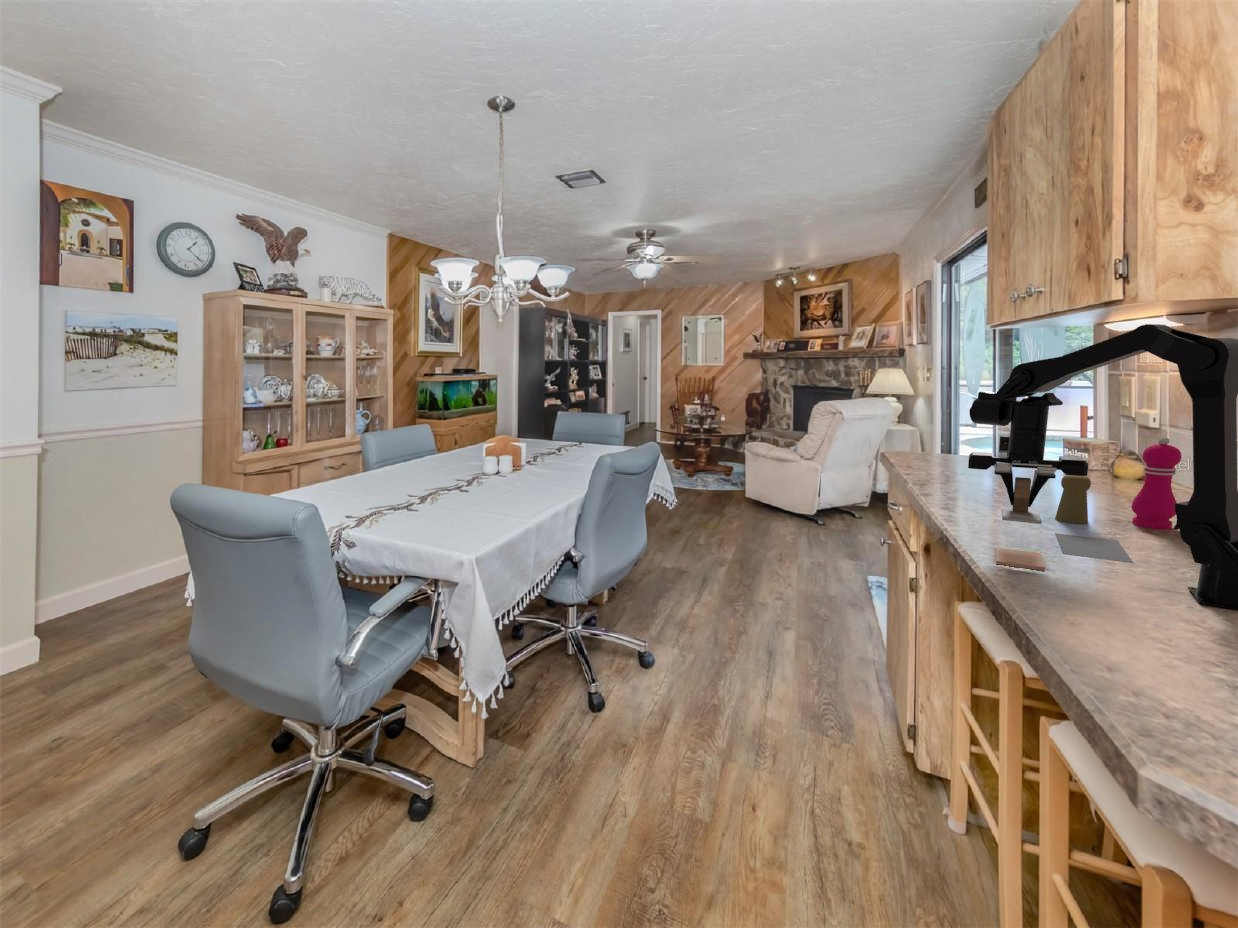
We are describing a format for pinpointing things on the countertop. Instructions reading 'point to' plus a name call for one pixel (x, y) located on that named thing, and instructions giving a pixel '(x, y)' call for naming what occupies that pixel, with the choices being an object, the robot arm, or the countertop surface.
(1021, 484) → the brown post on base
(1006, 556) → the tile
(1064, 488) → the cork
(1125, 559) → the mat
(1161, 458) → the pepper mill
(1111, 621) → the countertop surface
